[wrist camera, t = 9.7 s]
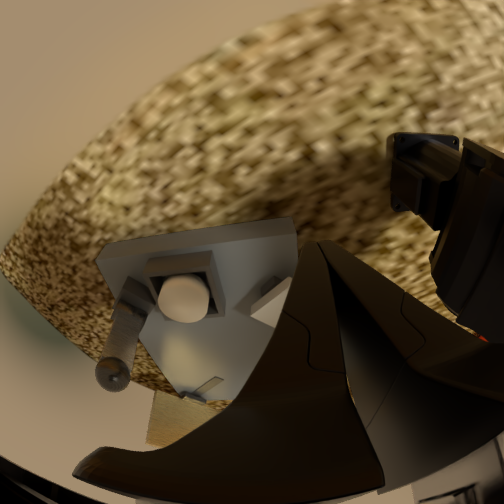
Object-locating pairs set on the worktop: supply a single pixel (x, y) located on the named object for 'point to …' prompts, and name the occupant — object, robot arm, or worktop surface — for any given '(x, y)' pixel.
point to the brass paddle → (175, 417)
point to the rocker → (271, 304)
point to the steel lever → (120, 347)
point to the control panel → (220, 299)
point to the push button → (184, 297)
